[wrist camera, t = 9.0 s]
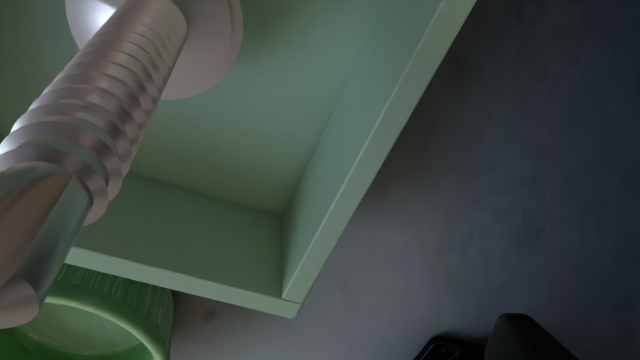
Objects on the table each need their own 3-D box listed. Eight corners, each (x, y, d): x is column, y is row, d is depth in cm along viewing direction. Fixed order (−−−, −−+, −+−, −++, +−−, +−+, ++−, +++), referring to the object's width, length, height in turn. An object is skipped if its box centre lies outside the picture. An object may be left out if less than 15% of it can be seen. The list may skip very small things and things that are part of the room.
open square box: (291, 224, 23) (293, 319, 18) (-87, 112, 19) (-198, 199, 15) (492, -173, 15) (577, -172, 11) (-75, -500, 11) (-301, -706, 7)
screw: (278, 15, 17) (168, 99, 18) (170, -124, 15) (54, -17, 16) (272, 344, 6) (9, 486, 8) (-137, 16, 4) (-409, 306, 5)
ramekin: (212, 255, 24) (199, 334, 20) (155, 373, 28) (136, 456, 24) (-4, 190, 21) (-63, 267, 17) (-29, 332, 25) (-81, 417, 22)
